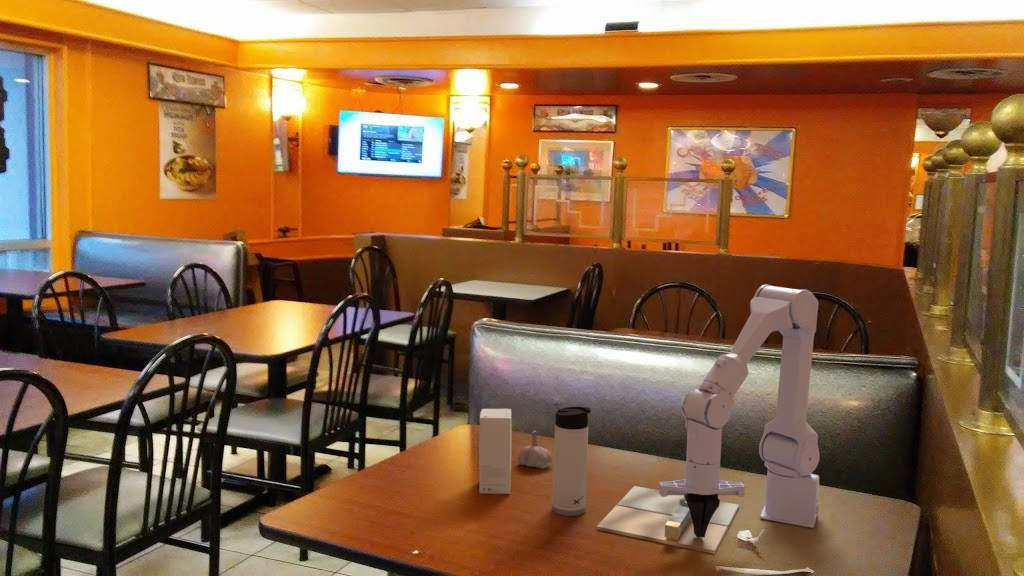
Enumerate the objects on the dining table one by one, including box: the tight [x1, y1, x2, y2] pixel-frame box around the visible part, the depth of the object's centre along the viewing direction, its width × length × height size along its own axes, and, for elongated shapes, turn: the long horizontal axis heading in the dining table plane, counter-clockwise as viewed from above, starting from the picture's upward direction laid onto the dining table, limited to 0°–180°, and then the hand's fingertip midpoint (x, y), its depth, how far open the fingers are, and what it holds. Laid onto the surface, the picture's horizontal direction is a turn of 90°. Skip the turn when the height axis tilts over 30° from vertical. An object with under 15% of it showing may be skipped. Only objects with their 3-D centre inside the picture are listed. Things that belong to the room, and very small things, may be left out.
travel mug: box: [552, 406, 592, 517], centre depth 154 cm, size 6×7×20 cm
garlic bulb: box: [517, 430, 554, 469], centre depth 179 cm, size 8×7×8 cm
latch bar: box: [665, 499, 692, 540], centre depth 146 cm, size 13×3×3 cm, turn 155°
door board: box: [596, 485, 740, 555], centre depth 152 cm, size 21×23×3 cm
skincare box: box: [478, 408, 513, 495], centre depth 165 cm, size 8×7×16 cm
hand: (699, 535), depth 142 cm, fingers closed
